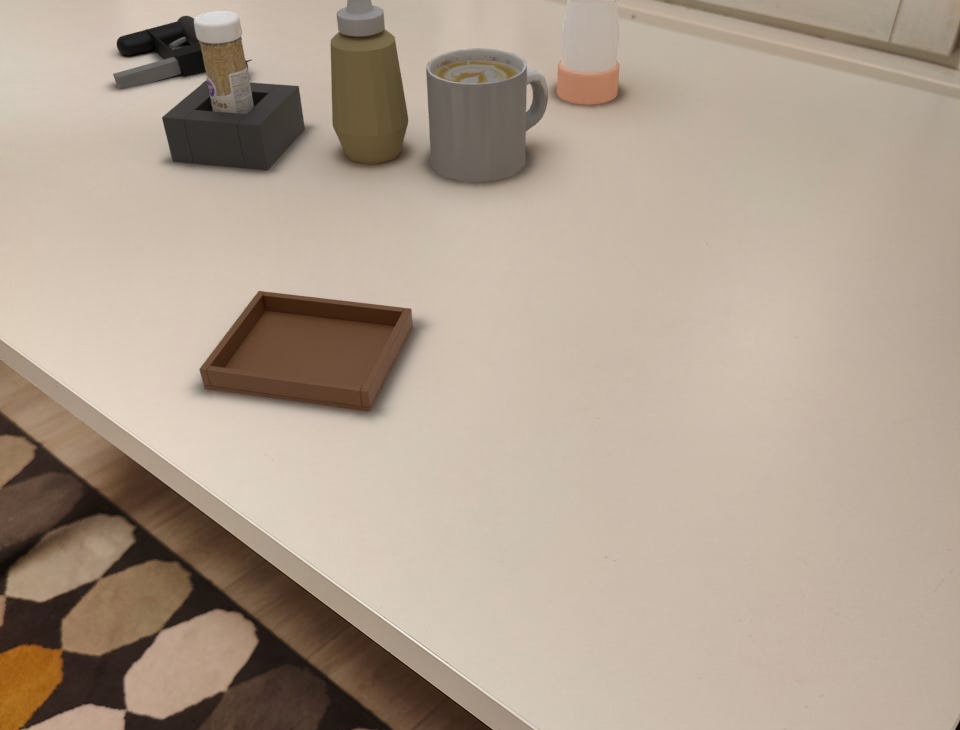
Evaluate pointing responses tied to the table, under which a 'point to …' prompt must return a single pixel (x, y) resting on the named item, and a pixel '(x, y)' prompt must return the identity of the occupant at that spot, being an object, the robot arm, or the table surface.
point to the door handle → (162, 53)
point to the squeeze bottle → (367, 85)
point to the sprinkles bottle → (224, 61)
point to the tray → (309, 350)
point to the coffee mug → (481, 113)
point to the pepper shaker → (589, 52)
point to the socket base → (235, 128)
